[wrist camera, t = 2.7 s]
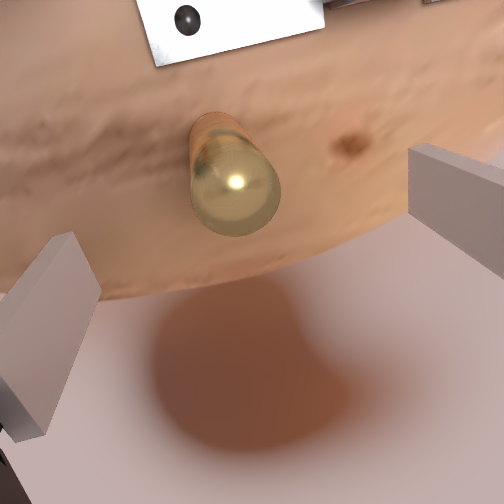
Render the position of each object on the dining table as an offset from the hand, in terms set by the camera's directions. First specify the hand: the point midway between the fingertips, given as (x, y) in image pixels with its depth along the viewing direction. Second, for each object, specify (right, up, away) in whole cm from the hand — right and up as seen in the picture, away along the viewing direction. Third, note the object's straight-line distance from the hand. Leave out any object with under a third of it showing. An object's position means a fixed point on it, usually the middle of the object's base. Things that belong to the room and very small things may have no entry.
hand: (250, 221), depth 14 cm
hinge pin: (-2, +7, +12) cm, 14 cm away
